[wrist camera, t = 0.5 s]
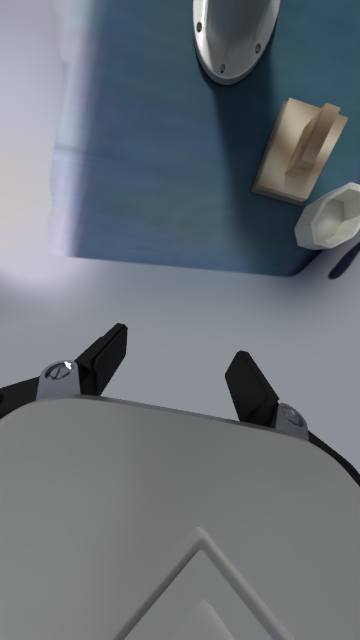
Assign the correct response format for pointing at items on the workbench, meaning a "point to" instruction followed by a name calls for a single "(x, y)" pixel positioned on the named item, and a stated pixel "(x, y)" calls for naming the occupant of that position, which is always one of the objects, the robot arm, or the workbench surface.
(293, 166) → the beige plate with ridge
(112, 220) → the workbench surface
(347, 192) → the bowl
